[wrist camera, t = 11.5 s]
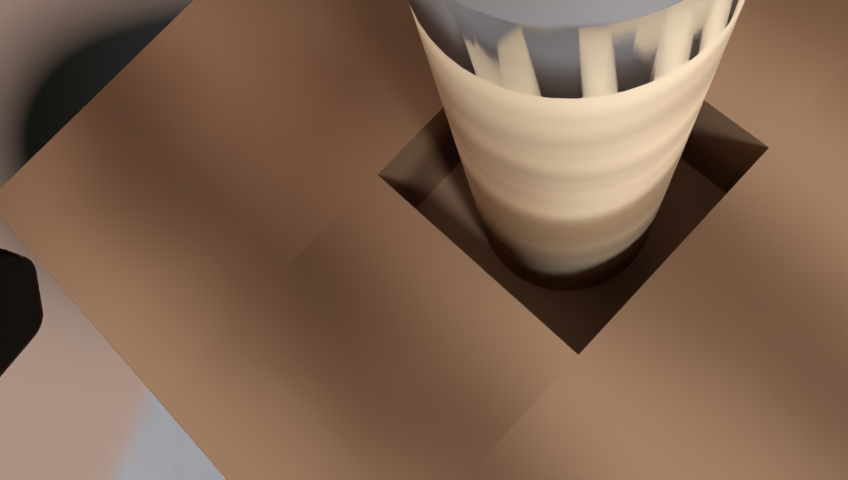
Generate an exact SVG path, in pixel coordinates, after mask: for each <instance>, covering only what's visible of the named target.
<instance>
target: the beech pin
mask: <svg viewBox="0 0 848 480" xmlns="http://www.w3.org/2000/svg"><path fill="white" fill-rule="evenodd" d="M408 1H409V4H410V7H411V10H412V13H413V17H414V20H415V23H416V26H417V29H418V32H419V35H420V38H421V41H422V44H423V47H424V50H425V53H426V56H427V59H428V62H429V65H430V68H431V71H432V74H433V77H434V80H435V83H436V86H437V89H438V92H439V95H440V98H441V101H442V104H443V107H444V110H445V113H446V116H447V119H448V122H449V125H450V128H451V131H452V134H453V138H454V141H455V144H456V147H457V150H458V153H459V156H460V159H461V162H462V165H463V168H464V171H465V174H466V177H467V180H468V183H469V186H470V189H471V192H472V195H473V198H474V201H475V204H476V207H477V210H478V213H479V216H480V219H481V222H482V225H483V228H484V231H485V234H486V237H487V240H488V242H489V244H490V246H491V248H492V250H493V252H494V253H495V255H496V256H497V258H498V259H499V260H500V261H501V262H502V263H503V265H504V266H505V267H506V268H508V269H509V270H510V271H511V272H512V273H513V274H515V275H516V276H518V277H519V278H521V279H523V280H525V281H527V282H529V283H531V284H533V285H536V286H539V287H542V288H546V289H551V290H558V291H576V290H582V289H588V288H591V287H594V286H598V285H600V284H602V283H605V282H607V281H609V280H611V279H612V278H614V277H615V276H617V275H618V274H620V273H621V272H622V271H623V270H625V269H626V268H627V267H628V266H629V265H630V264H631V263H632V262H633V260H634V259H635V258H636V257H637V255H638V254H639V252H640V251H641V249H642V247H643V245H644V243H645V241H646V239H647V237H648V234H649V232H650V230H651V227H652V225H653V222H654V220H655V217H656V215H657V213H658V210H659V208H660V205H661V203H662V201H663V198H664V196H665V193H666V191H667V188H668V186H669V184H670V181H671V179H672V176H673V174H674V171H675V169H676V167H677V164H678V162H679V159H680V157H681V154H682V152H683V150H684V147H685V145H686V142H687V140H688V138H689V135H690V133H691V130H692V128H693V125H694V123H695V121H696V118H697V116H698V113H699V111H700V108H701V106H702V104H703V101H704V99H705V96H706V94H707V91H708V89H709V87H710V84H711V82H712V79H713V77H714V75H715V72H716V70H717V67H718V65H719V62H720V60H721V58H722V55H723V53H724V50H725V48H726V45H727V43H728V41H729V38H730V36H731V33H732V31H733V29H734V26H735V24H736V21H737V19H738V16H739V14H740V12H741V9H742V7H743V4H744V2H745V0H408Z"/></svg>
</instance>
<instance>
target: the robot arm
mask: <svg viewBox="0 0 848 480" xmlns="http://www.w3.org/2000/svg"><path fill="white" fill-rule="evenodd" d="M42 319H43V310H42V304H41V297H40V292H39V285H38V280H37V273H36V269H35V266H34V264H33V263H32V261H31V260H30V259H28V258H27V257H24V256H21V255H19V254H16V253H13V252H10V251H8V250H5V249H0V377H1V375H2V374H3V373H4V372H5V371H6V369H7V368H8V367H9V366H10V365H11V364H12V362H13V361H14V360H15V359H16V358H17V357H18V355H19V354H20V353H21V352H22V351H23V349H24V348H25V347H26V346H27V345H28V344H29V342H30V341H31V340H32V339H33V338H34V336H35V335H36V334H37V332H38V330H39V328H40V326H41V323H42Z"/></svg>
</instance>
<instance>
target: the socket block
mask: <svg viewBox="0 0 848 480" xmlns="http://www.w3.org/2000/svg"><path fill="white" fill-rule="evenodd" d="M0 217H1V218H2V219H3V220H4V222H5V223H6V224H7V225H8V226H9V227H10V229H11V230H12V231H13V232H14V233H15V234H16V235H17V237H18V238H19V239H20V240H21V241H22V243H23V244H25V246H26V247H27V248H28V249H29V251H30V252H31V253H32V254H33V255H34V256H35V258H36V259H37V260H38V261H39V262H40V263H41V265H42V266H43V267H44V268H45V269H46V270H47V272H48V273H49V274H50V275H51V276H52V277H53V278H54V280H55V281H56V282H57V283H58V284H59V285H60V287H61V288H62V289H63V290H64V291H65V293H66V294H67V295H68V296H69V297H70V298H71V299H72V301H73V302H74V303H75V304H76V305H77V306H78V308H79V309H80V310H81V311H82V312H83V313H84V315H85V316H86V317H87V318H88V319H89V320H90V322H91V323H92V324H93V325H94V326H95V327H96V329H97V330H98V331H99V332H100V333H101V334H102V335H103V337H104V338H105V339H106V340H107V341H108V342H109V344H110V345H111V346H112V347H113V348H114V349H115V350H116V352H117V353H118V354H119V355H120V356H121V358H122V359H123V360H124V361H125V362H126V363H127V364H128V365H129V367H130V368H131V369H132V370H133V372H134V373H135V374H136V375H137V376H138V377H139V378H140V380H141V381H142V382H143V383H144V384H145V385H146V387H147V388H148V389H149V390H150V391H151V392H152V394H153V395H154V396H155V397H156V398H157V399H158V401H159V402H160V403H161V404H162V405H163V406H164V408H165V409H166V410H167V411H168V412H169V413H170V414H171V416H172V417H173V418H174V419H175V420H176V421H177V423H178V424H179V425H180V426H181V427H182V428H183V430H184V431H185V432H186V433H187V434H188V435H189V437H190V438H191V439H192V440H193V441H194V442H195V444H196V445H197V446H198V447H199V448H200V449H201V451H202V452H203V453H204V454H205V455H206V456H207V457H208V459H209V460H210V461H211V462H212V463H213V464H214V466H215V467H216V468H217V469H218V470H219V471H220V473H221V474H222V475H223V476H224V477H225V478H226V480H848V0H745V2H744V4H743V7H742V9H741V12H740V14H739V16H738V19H737V21H736V24H735V26H734V29H733V31H732V33H731V36H730V38H729V41H728V43H727V45H726V48H725V50H724V53H723V55H722V58H721V60H720V62H719V65H718V67H717V70H716V72H715V75H714V77H713V79H712V82H711V84H710V87H709V89H708V91H707V94H706V96H705V99H704V101H703V104H702V106H701V108H700V111H699V113H698V116H697V118H696V121H695V123H694V125H693V128H692V130H691V133H690V135H689V138H688V140H687V142H686V145H685V147H684V150H683V152H682V154H681V157H680V159H679V162H678V164H677V167H676V169H675V171H674V174H673V176H672V179H671V181H670V184H669V186H668V188H667V191H666V193H665V196H664V198H663V201H662V203H661V205H660V208H659V210H658V213H657V215H656V217H655V220H654V222H653V225H652V227H651V230H650V232H649V234H648V237H647V239H646V241H645V243H644V245H643V247H642V249H641V251H640V252H639V254H638V255H637V257H636V258H635V259H634V260H633V262H632V263H631V264H630V265H629V266H628V267H627V268H626V269H625V270H623V271H622V272H621V273H620V274H618V275H617V276H615V277H614V278H612V279H611V280H609V281H607V282H605V283H602V284H600V285H598V286H594V287H591V288H588V289H582V290H576V291H558V290H551V289H546V288H542V287H539V286H536V285H533V284H531V283H529V282H527V281H525V280H523V279H521V278H519V277H518V276H516V275H515V274H513V273H512V272H511V271H510V270H509V269H508V268H506V267H505V266H504V265H503V263H502V262H501V261H500V260H499V259H498V258H497V256H496V255H495V253H494V252H493V250H492V248H491V246H490V244H489V242H488V240H487V237H486V234H485V231H484V228H483V225H482V222H481V219H480V216H479V213H478V210H477V207H476V204H475V201H474V198H473V195H472V192H471V189H470V186H469V183H468V180H467V177H466V174H465V171H464V168H463V165H462V162H461V159H460V156H459V153H458V150H457V147H456V144H455V141H454V138H453V134H452V131H451V128H450V125H449V122H448V119H447V116H446V113H445V110H444V107H443V104H442V101H441V98H440V95H439V92H438V89H437V86H436V83H435V80H434V77H433V74H432V71H431V68H430V65H429V62H428V59H427V56H426V53H425V50H424V47H423V44H422V41H421V38H420V35H419V32H418V29H417V26H416V23H415V20H414V17H413V13H412V10H411V7H410V4H409V1H408V0H193V1H192V2H191V3H190V4H189V5H188V6H187V7H186V8H185V9H184V10H183V11H182V12H181V13H180V14H179V15H178V16H177V17H176V18H175V19H173V20H172V22H170V23H169V24H168V25H167V26H166V28H164V29H163V30H162V31H161V32H160V33H159V34H158V35H157V36H156V37H155V38H154V39H153V40H152V41H151V42H150V43H149V44H148V45H147V46H146V47H145V48H144V49H143V50H142V51H141V52H140V53H139V54H138V55H137V56H136V57H135V58H134V59H133V60H132V61H131V62H130V63H129V64H127V65H126V66H125V67H124V68H123V69H122V70H121V71H120V72H119V73H118V74H117V75H116V76H115V77H114V78H113V79H112V80H111V81H110V82H109V83H108V84H107V85H106V86H105V87H104V88H103V89H102V90H101V91H100V92H99V93H98V94H97V95H96V96H95V97H94V98H93V99H92V100H91V101H90V102H89V103H88V104H87V105H86V106H85V107H83V108H82V109H81V110H80V111H79V112H78V113H77V114H76V115H75V116H74V117H73V118H72V119H71V120H70V121H69V122H68V123H67V124H66V125H65V126H64V127H63V128H62V129H61V130H60V131H59V132H58V133H57V134H56V135H55V136H54V137H53V138H52V139H51V140H50V141H49V142H48V143H47V144H46V145H45V146H44V147H43V148H42V149H41V150H40V151H38V153H36V155H34V156H33V157H32V158H31V159H30V160H29V161H28V162H27V163H26V164H25V165H24V166H23V167H22V168H21V169H20V170H19V171H18V172H17V173H16V174H15V175H14V176H13V177H12V178H11V179H10V180H9V181H8V182H7V183H6V184H5V185H4V186H3V187H2V188H1V189H0Z"/></svg>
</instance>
